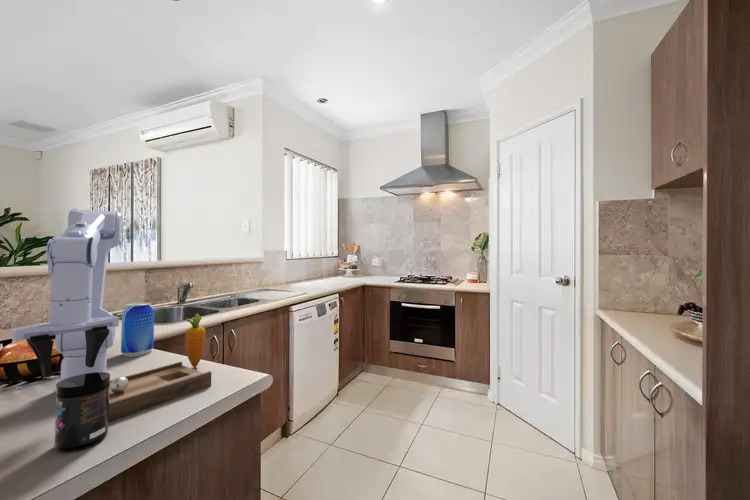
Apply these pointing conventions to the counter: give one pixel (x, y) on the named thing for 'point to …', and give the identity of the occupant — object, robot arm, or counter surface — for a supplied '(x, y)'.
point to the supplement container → (81, 411)
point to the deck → (156, 388)
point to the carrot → (195, 340)
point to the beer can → (137, 329)
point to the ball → (119, 384)
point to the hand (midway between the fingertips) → (69, 371)
